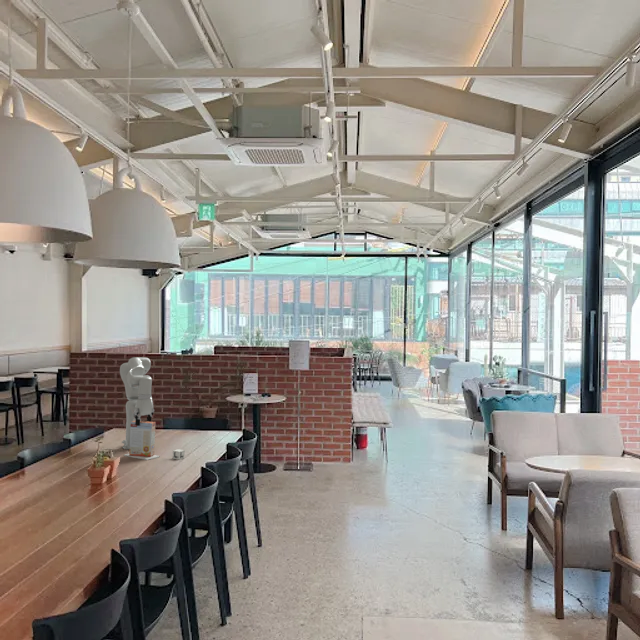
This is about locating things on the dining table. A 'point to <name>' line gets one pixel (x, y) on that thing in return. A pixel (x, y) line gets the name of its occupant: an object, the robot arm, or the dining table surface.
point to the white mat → (142, 457)
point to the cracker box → (142, 439)
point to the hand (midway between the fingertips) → (143, 424)
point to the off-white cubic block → (178, 454)
